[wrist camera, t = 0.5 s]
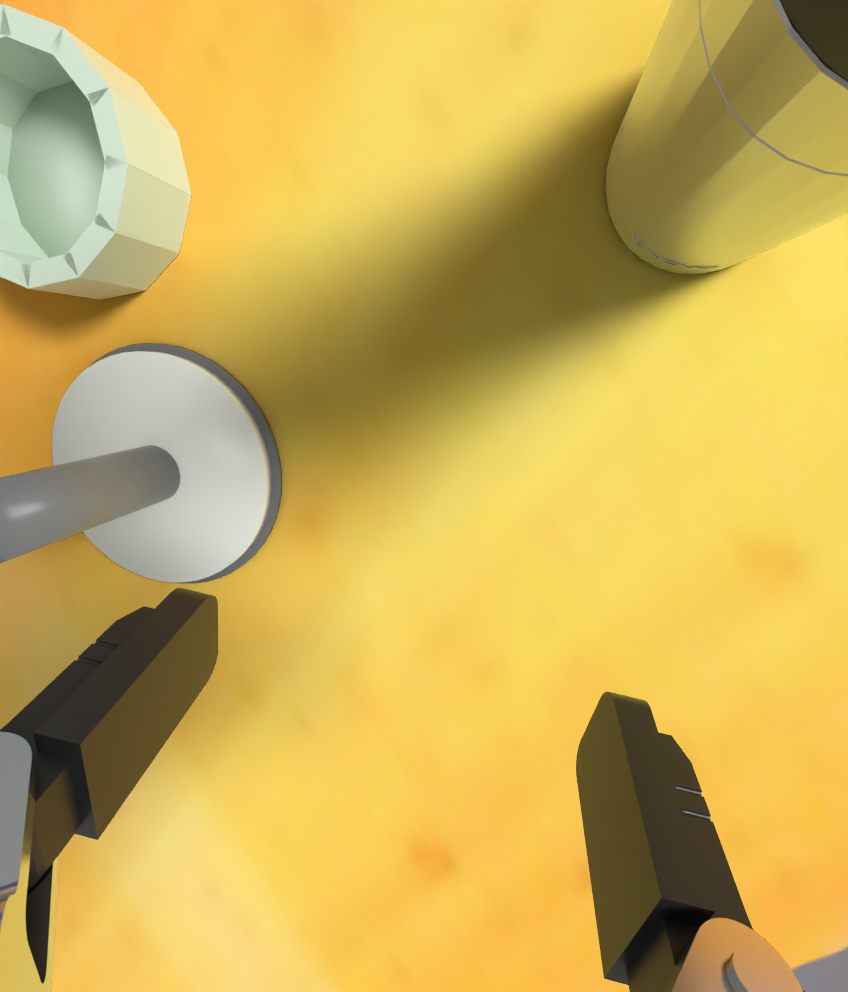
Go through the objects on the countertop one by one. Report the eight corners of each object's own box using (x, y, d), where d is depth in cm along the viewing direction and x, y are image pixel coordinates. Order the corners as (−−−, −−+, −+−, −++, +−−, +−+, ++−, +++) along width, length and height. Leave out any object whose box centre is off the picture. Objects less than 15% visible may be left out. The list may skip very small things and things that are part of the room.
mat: (84, 304, 32) (79, 303, 32) (313, 402, 31) (310, 403, 31) (47, 524, 37) (42, 526, 37) (244, 617, 36) (242, 619, 36)
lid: (84, 314, 32) (-158, 287, 21) (300, 407, 31) (171, 433, 20) (49, 523, 36) (-166, 596, 25) (237, 610, 35) (101, 729, 24)
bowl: (21, 37, 29) (-77, -27, 24) (210, 111, 28) (146, 59, 23) (-3, 255, 33) (-93, 236, 28) (163, 326, 32) (100, 319, 27)
